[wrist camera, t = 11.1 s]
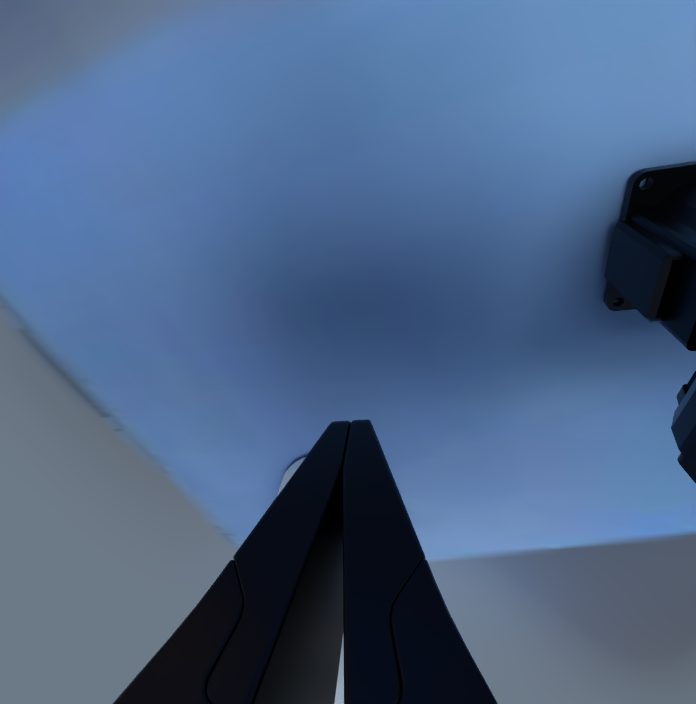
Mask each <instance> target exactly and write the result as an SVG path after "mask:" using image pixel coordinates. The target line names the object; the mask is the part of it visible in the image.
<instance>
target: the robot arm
mask: <svg viewBox="0 0 696 704" xmlns="http://www.w3.org/2000/svg"><path fill="white" fill-rule="evenodd" d="M647 177H648V183H647V184H646V185H645V186H644V187H642V188H640V187H639V185H640V183H641V181H642V180H643V179H645V178H647ZM605 278H606V279H607V280H608V281H607V286H606V291H605V295H604V303H605V305H606V306H607V307H608V308H609V309H610V310H612V311H619V310H630V309H637V310H638V311H639V312H640V313H641V314H642V315H643V316H644V317H645V318H646V319H647V320H648V321H650V322H660V323H661V324H662V325H663V326H664V327H665V328H666V329H667V330H668V331H669V332H670V333H671V334H672V335H673V336H674V337H675V338H677V339H678V340H679V341H680V342H681V343H682V344H683V345H684V346H685V347H686V348H687V349H688V350H690V351H696V161H695V162H688V163H681V164H674V165H668V166H661V167H654V168H648V169H643V170H640V171H638V172H637V173H635V174H634V175H633V176H632V177H631V179H630V181H629V183H628V188H627V192H626V197H625V202H624V206H623V211H622V216H621V220H620V222H619V223H618V224H617V225H616V227H615V228H614V233H613V238H612V243H611V247H610V252H609V257H608V262H607V267H606V272H605ZM618 297H620V299H619V300H618V301H617V302H614V303H613V301H614V300H615V299H616V298H618ZM677 400H678V404H679V406H678V408H677V409H676V411H675V413H674V417H673V422H672V426H671V429H672V432H673V435H674V437H675V440H676V443H677V446H678V448H679V450H680V452H681V454H680V455H679V457H678V462H679V464H680V465H681V466H682V468H683V469H684V470H685V471H686V472H687V474H688V475H689V476H690V477H691V478H692V480H693V481H694V482H695V483H696V371H695V373H694V374H693V376H692V377H691V379H690V381H689V382H688V384H684V385H683V386H682V388H681V389H680V391H679V393H678V394H677ZM233 558H234V560H231V561H230V562H229V563H228V564H227V566H226V567H225V569H224V570H223V571H222V573H221V574H220V575H219V577H218V578H217V579H216V581H215V582H214V583H213V585H212V586H211V587H210V589H209V590H208V591H207V592H206V594H205V595H204V596H203V598H202V599H201V600H200V602H199V603H198V604H197V606H196V607H195V608H194V609H193V610H192V612H191V613H190V614H189V615H188V617H187V618H186V619H185V620H184V621H183V622H182V624H181V625H180V626H179V627H178V628H177V630H176V631H175V632H174V633H173V635H172V636H171V637H170V638H169V639H168V640H167V642H166V643H165V644H164V645H163V646H162V647H161V648H160V650H159V651H158V652H157V653H156V654H155V656H154V657H153V658H152V659H151V660H150V661H149V662H148V663H147V665H146V666H145V667H144V668H143V669H142V670H141V672H140V673H139V674H138V675H137V676H136V678H134V680H133V681H132V682H131V683H130V684H129V685H128V687H127V688H126V689H125V690H124V691H123V692H122V694H121V695H120V696H119V697H118V698H117V699H116V700H115V702H114V703H113V704H334V703H335V695H336V687H337V679H338V671H339V663H340V655H341V648H342V640H343V637H344V704H498V703H497V702H496V700H495V698H494V696H493V694H492V693H491V691H490V689H489V687H488V685H487V683H486V682H485V680H484V678H483V676H482V674H481V672H480V671H479V669H478V667H477V665H476V663H475V661H474V660H473V658H472V656H471V654H470V652H469V650H468V649H467V647H466V645H465V643H464V641H463V639H462V637H461V635H460V633H459V631H458V629H457V627H456V625H455V623H454V621H453V619H452V618H451V615H450V613H449V611H448V609H447V607H446V605H445V602H444V600H443V598H442V595H441V593H440V591H439V589H438V586H437V584H436V582H435V579H434V577H433V574H432V572H431V569H430V567H429V564H428V562H427V560H425V555H424V552H423V550H422V547H421V545H420V542H419V540H418V537H417V535H416V532H415V530H414V528H413V525H412V523H411V520H410V518H409V515H408V513H407V510H406V508H405V505H404V503H403V500H402V498H401V495H400V493H399V490H398V488H397V485H396V483H395V480H394V478H393V475H392V473H391V470H390V468H389V465H388V463H387V460H386V458H385V455H384V453H383V451H382V448H381V446H380V443H379V441H378V438H377V436H376V433H375V431H374V428H373V426H372V423H371V421H370V420H354V421H352V422H349V421H335V422H332V423H331V424H330V425H329V426H328V427H327V429H326V430H325V431H324V433H323V434H322V436H321V437H320V438H319V440H318V441H317V442H316V444H315V445H314V447H313V448H312V449H311V451H310V452H309V453H308V455H307V456H306V458H305V459H304V460H303V462H302V463H301V464H300V466H299V467H298V469H297V470H296V471H295V473H294V474H293V475H292V477H291V478H290V480H289V481H288V482H287V484H286V485H285V486H284V488H283V489H282V490H281V492H280V493H279V495H278V496H277V497H276V499H275V500H274V501H273V503H272V504H271V506H270V507H269V508H268V510H267V511H266V512H265V514H264V515H263V517H262V518H261V519H260V521H259V522H258V523H257V525H256V526H255V528H254V529H253V530H252V532H251V533H250V534H249V536H248V537H247V539H246V540H245V541H244V543H243V544H242V545H241V547H240V548H239V550H238V551H237V552H236V554H235V555H234V557H233Z"/></svg>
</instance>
